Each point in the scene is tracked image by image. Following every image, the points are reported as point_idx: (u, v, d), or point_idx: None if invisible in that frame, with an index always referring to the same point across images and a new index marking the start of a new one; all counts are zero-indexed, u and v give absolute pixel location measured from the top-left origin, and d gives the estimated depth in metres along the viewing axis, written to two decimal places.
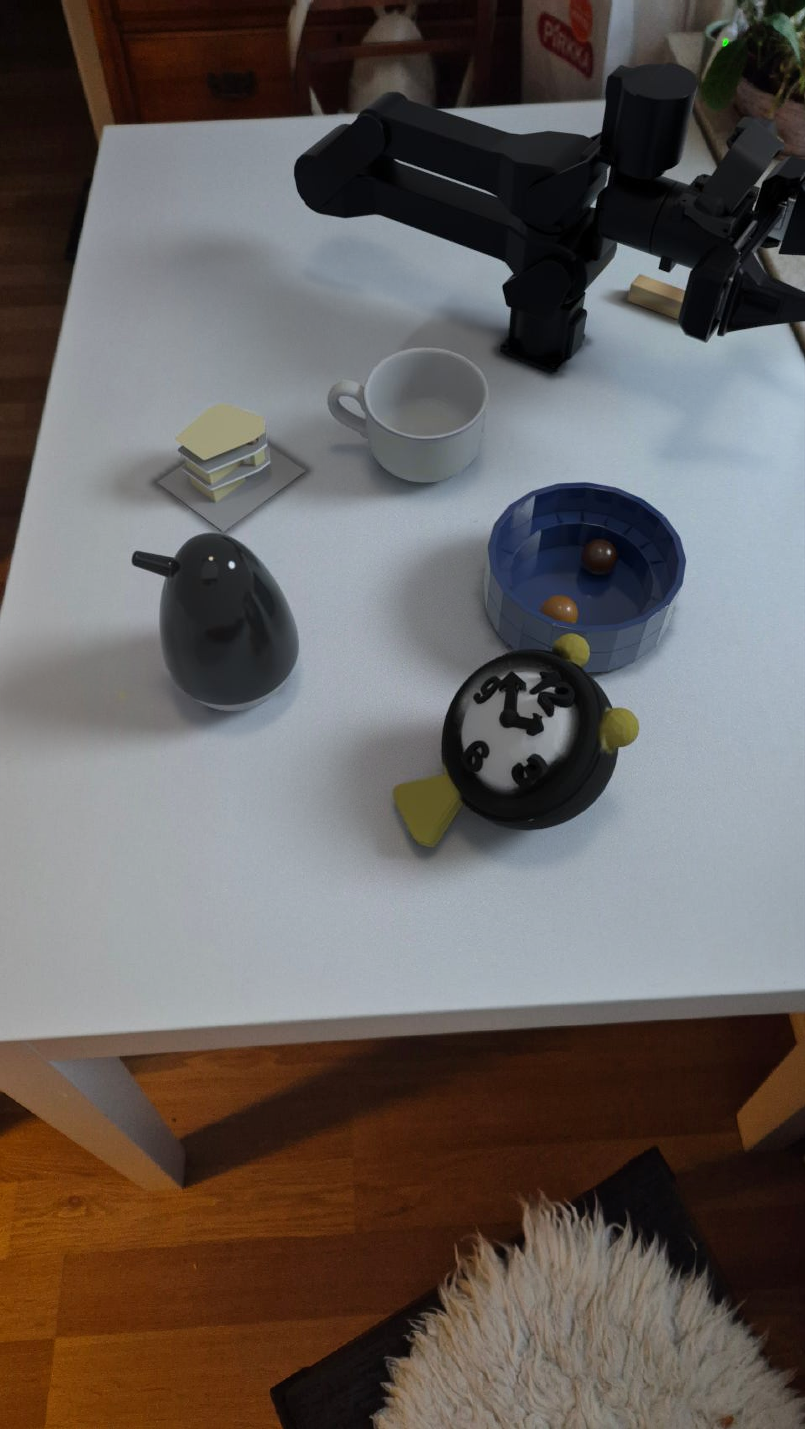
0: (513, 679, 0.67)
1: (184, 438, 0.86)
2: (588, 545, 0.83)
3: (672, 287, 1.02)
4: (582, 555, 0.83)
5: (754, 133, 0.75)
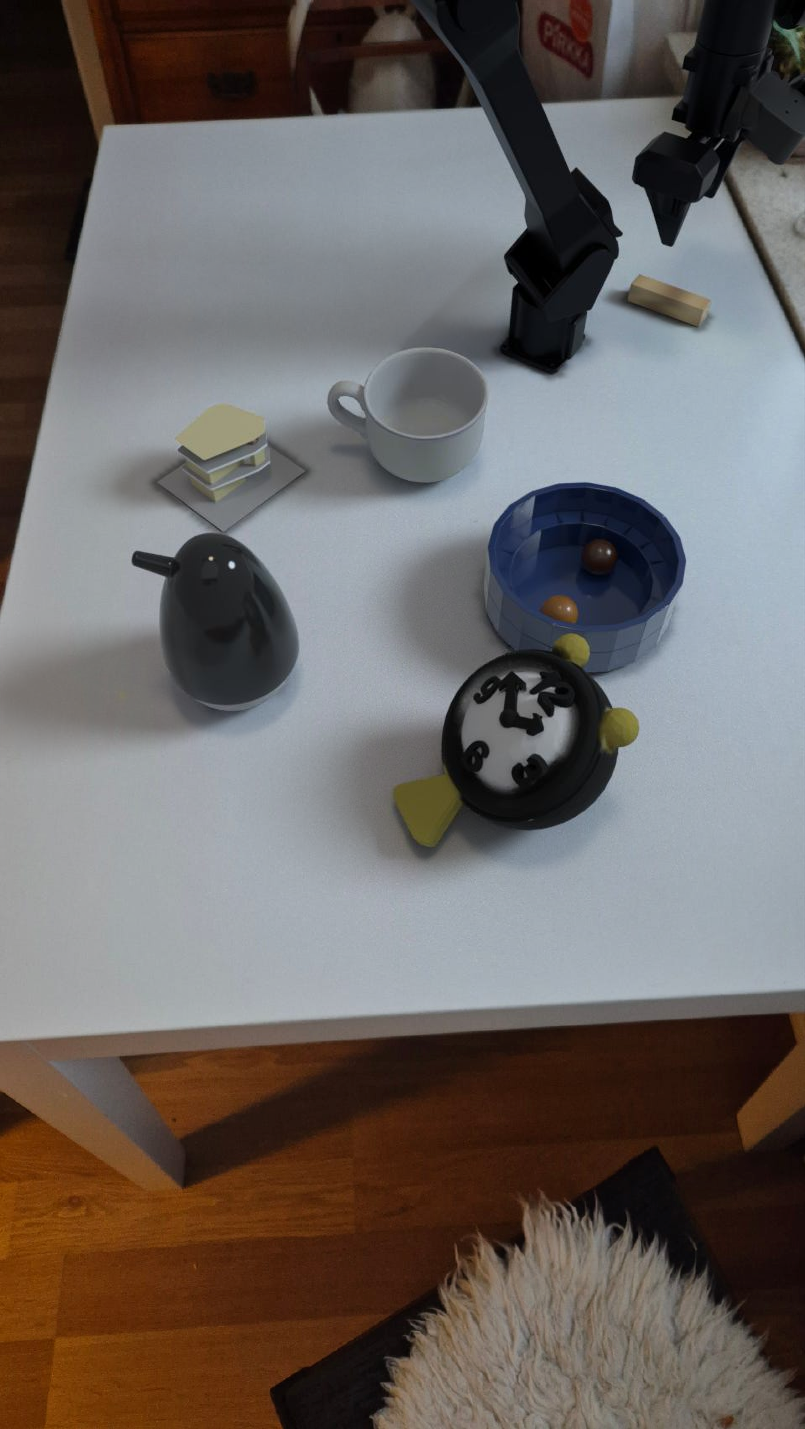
0: (513, 679, 0.67)
1: (184, 437, 0.86)
2: (588, 545, 0.83)
3: (672, 287, 1.02)
4: (582, 555, 0.83)
5: None
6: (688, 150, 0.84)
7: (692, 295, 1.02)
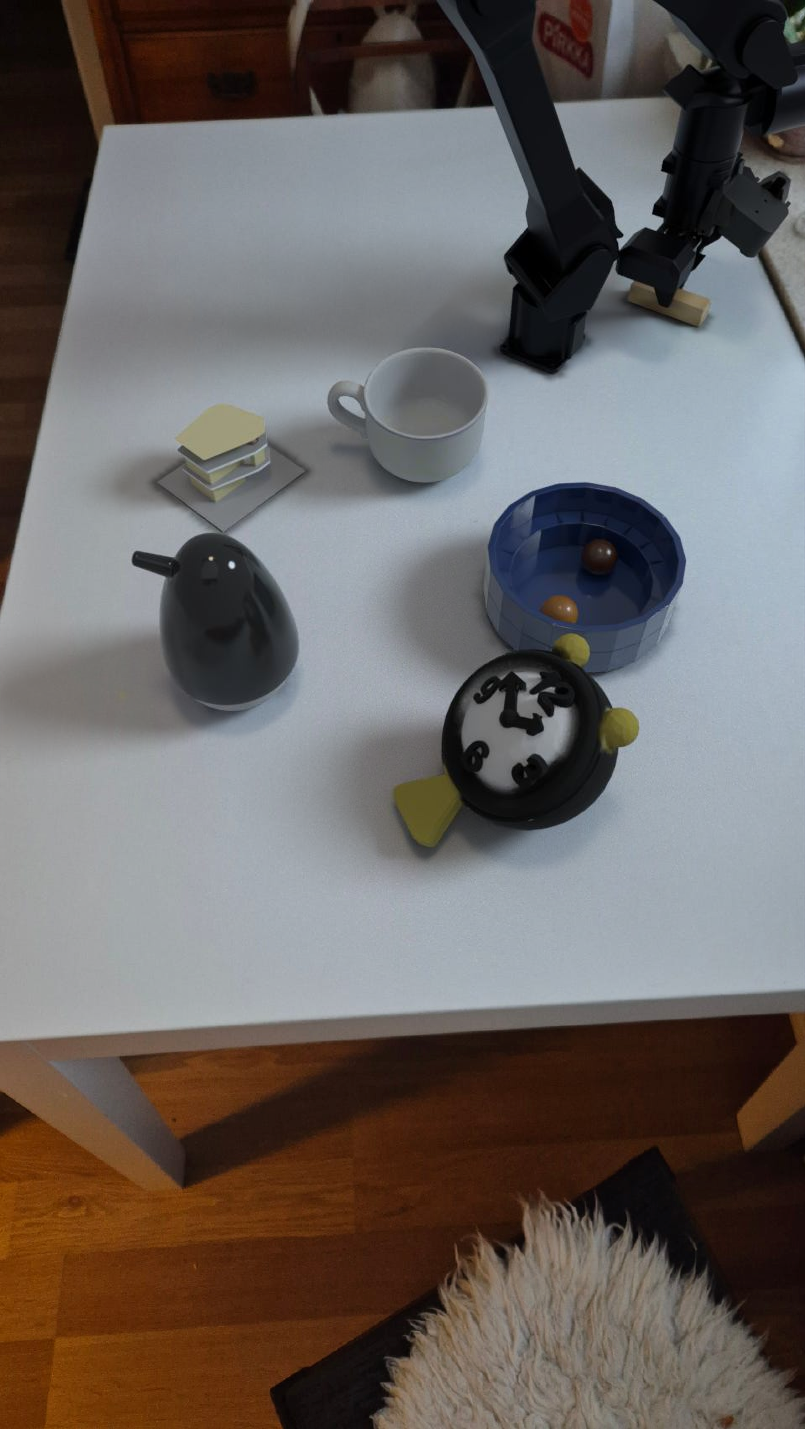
0: (513, 679, 0.67)
1: (184, 438, 0.86)
2: (588, 545, 0.83)
3: None
4: (582, 555, 0.83)
5: None
6: (666, 245, 0.91)
7: (692, 295, 1.02)
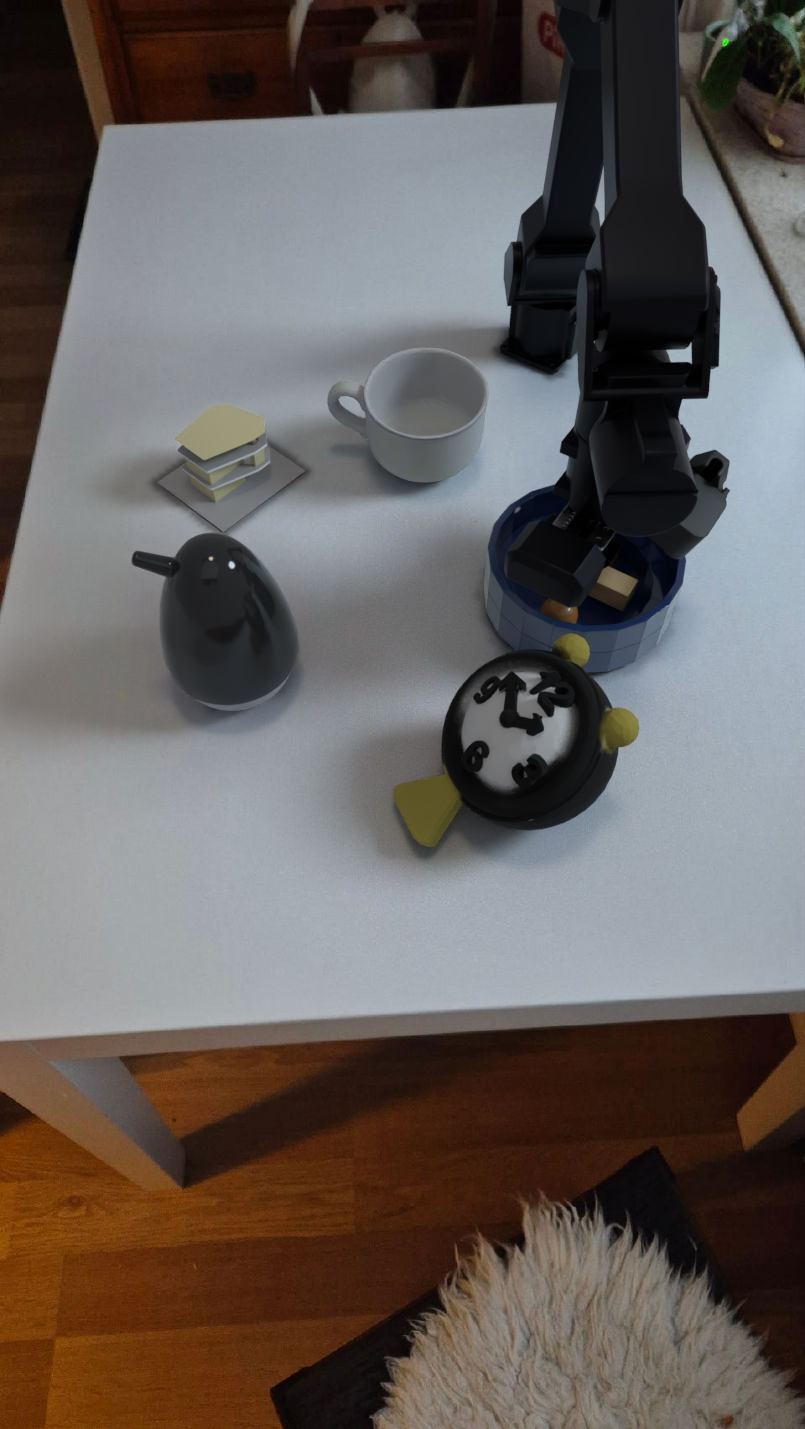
0: (513, 679, 0.67)
1: (184, 438, 0.86)
2: None
3: None
4: None
5: None
6: (566, 550, 0.70)
7: (614, 573, 0.80)
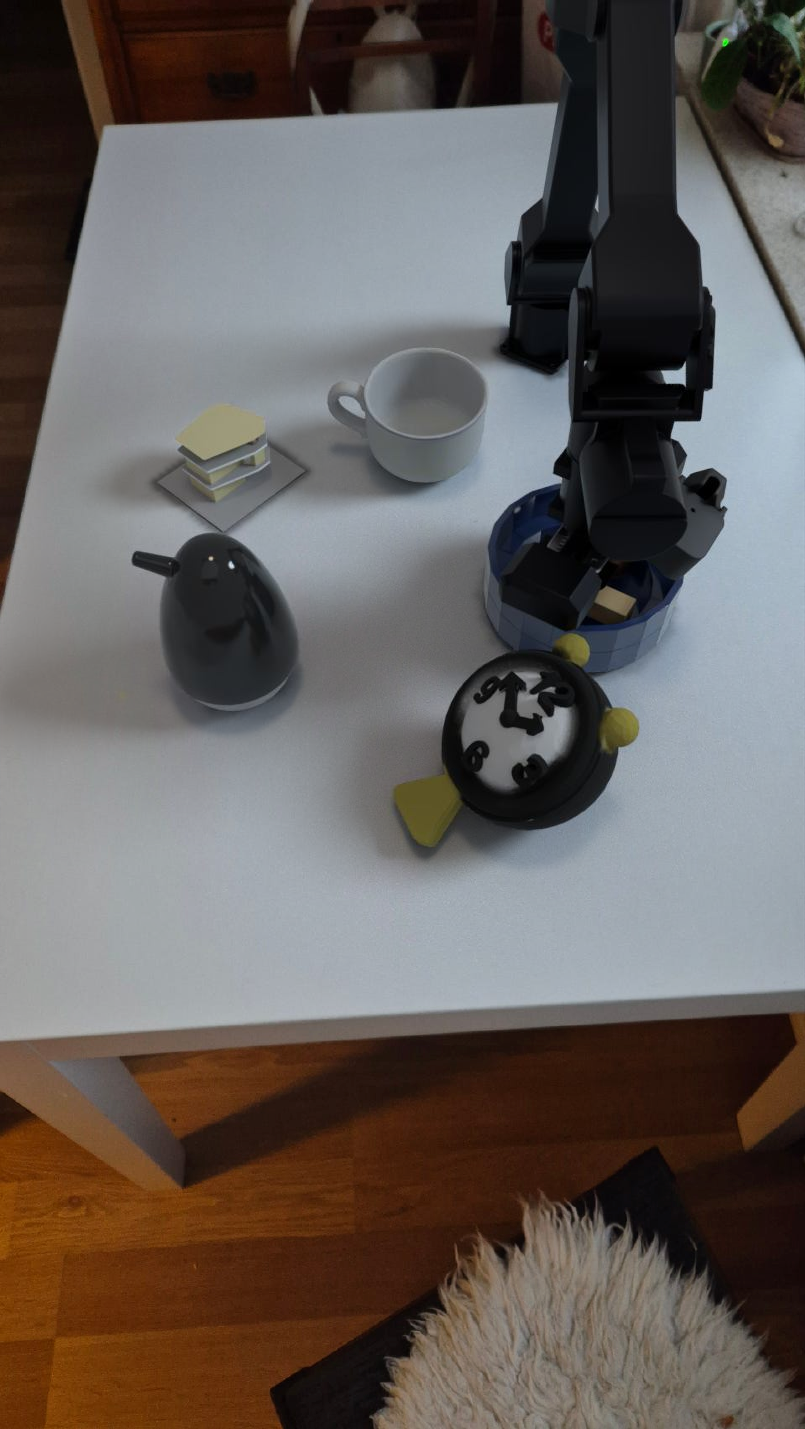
0: (513, 679, 0.67)
1: (184, 438, 0.86)
2: None
3: None
4: None
5: None
6: (561, 573, 0.68)
7: (612, 592, 0.79)
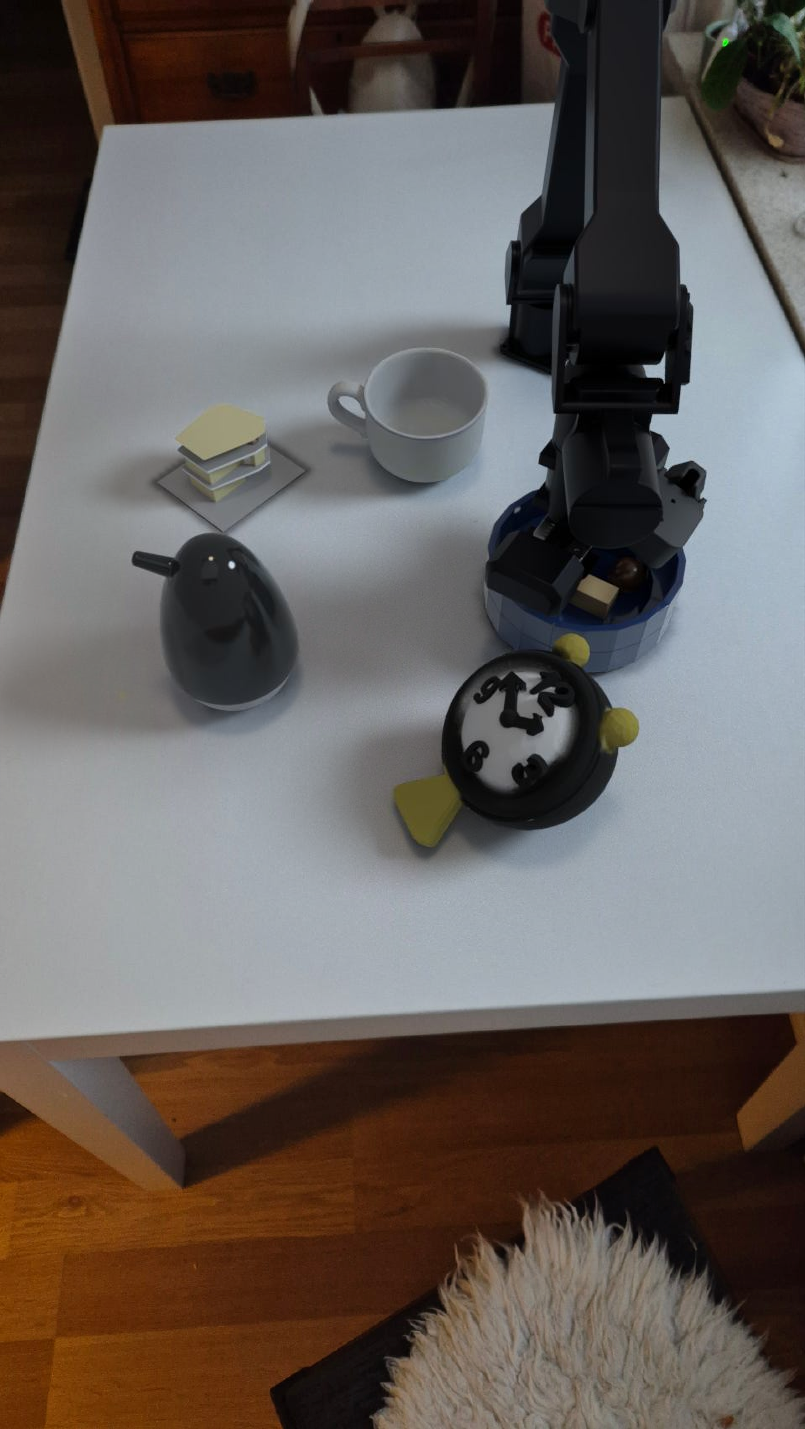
0: (513, 679, 0.67)
1: (184, 438, 0.86)
2: (636, 583, 0.81)
3: None
4: (624, 584, 0.81)
5: None
6: (545, 560, 0.71)
7: (595, 581, 0.81)
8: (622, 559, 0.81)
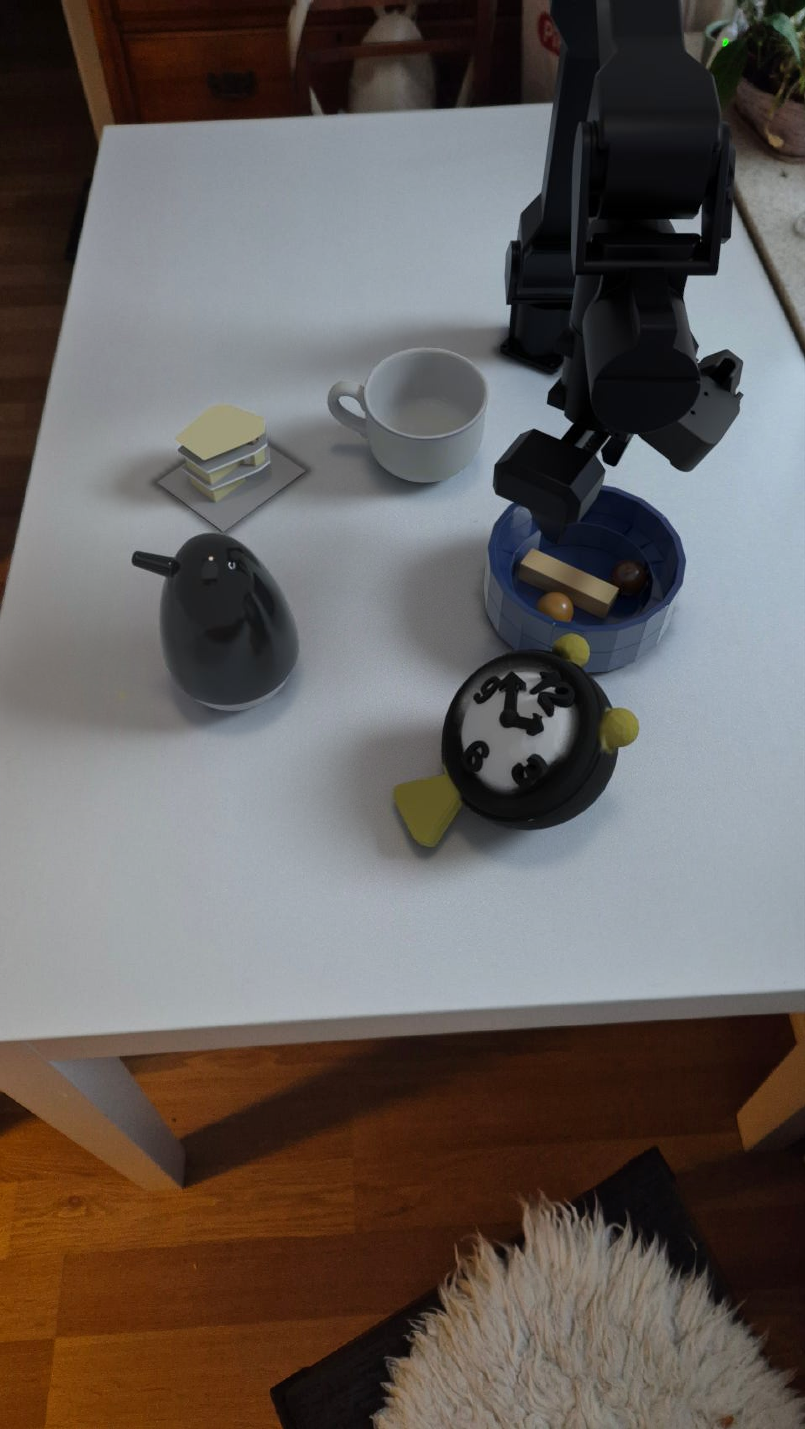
0: (513, 679, 0.67)
1: (184, 438, 0.86)
2: (638, 589, 0.81)
3: (571, 568, 0.82)
4: (626, 589, 0.81)
5: None
6: (562, 460, 0.63)
7: (595, 581, 0.81)
8: (626, 563, 0.81)
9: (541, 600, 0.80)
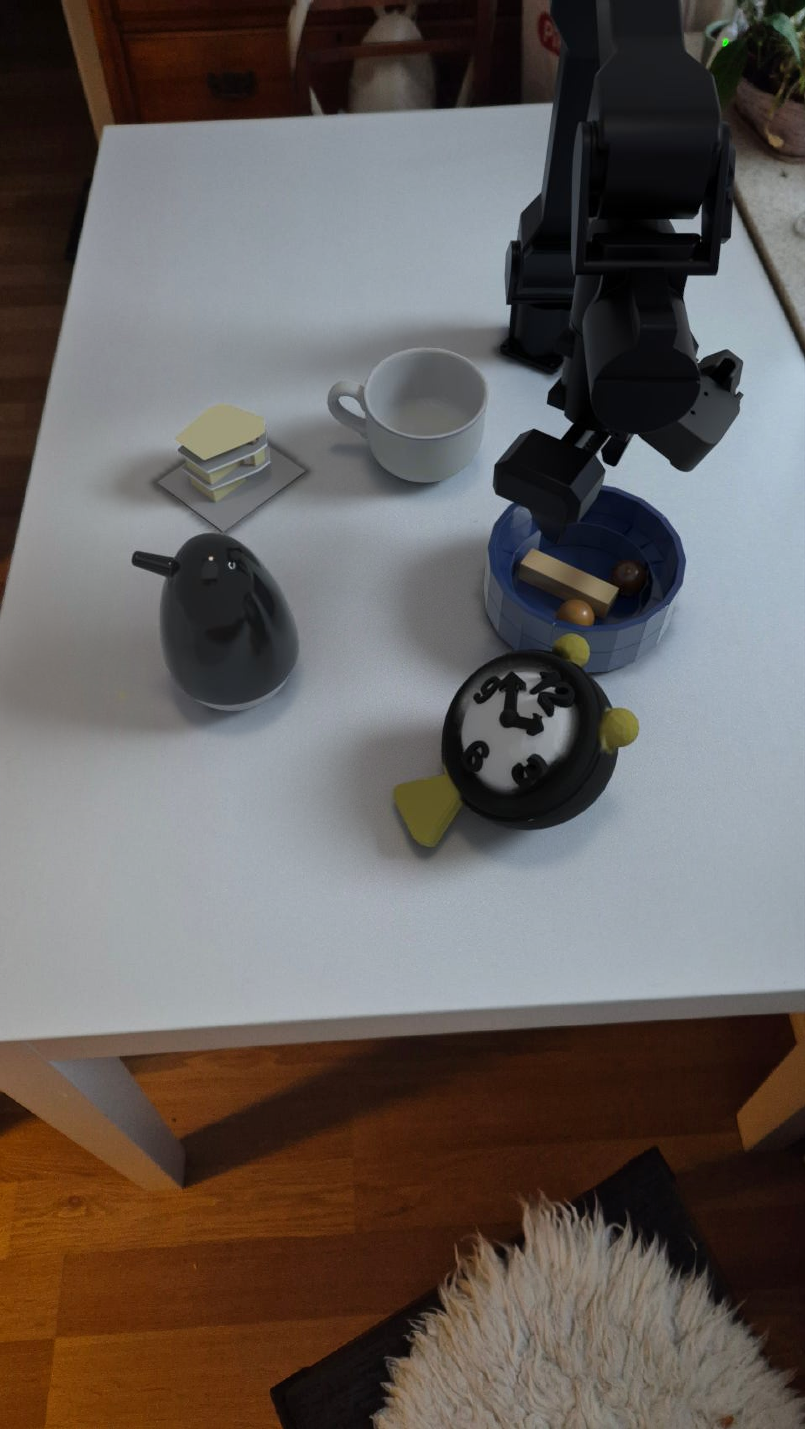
0: (513, 679, 0.67)
1: (184, 438, 0.86)
2: (637, 589, 0.81)
3: (571, 568, 0.82)
4: (625, 589, 0.81)
5: None
6: (562, 460, 0.63)
7: (595, 581, 0.81)
8: (625, 563, 0.81)
9: (582, 611, 0.78)
